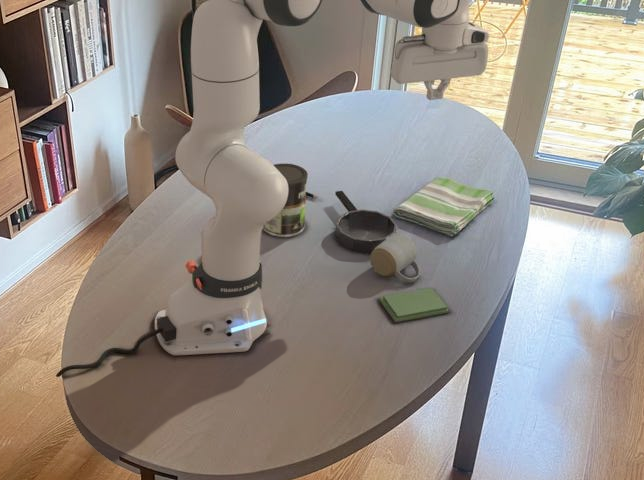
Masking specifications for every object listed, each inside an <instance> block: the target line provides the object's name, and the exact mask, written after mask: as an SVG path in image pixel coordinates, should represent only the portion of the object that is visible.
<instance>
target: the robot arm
mask: <svg viewBox="0 0 644 480" xmlns="http://www.w3.org/2000/svg"><path fill="white" fill-rule="evenodd" d="M360 2H361V4H362V5H363V7H364V8H365V9H366V10H367V11H368V12H370V13H373V14H376V15H380V16H385V17H388V18H391V19H393V20H396V21H400V22H402V23H405V24H408V25H411V26H414V27H417V28H421V34H415V35H414V34H413V35H405V36H402V38H401V39H399V40H398V41H397V42H396V43H395V45H394V55H393V60H392V63H391V64H392V65H391V68H390V77H391V78H392V79H393V80H394V81H395V83H397V84H399V85H404V84H405V85H406V84H413V83H423V85H424V86H425V89H426V99H427V100H428V101H433V100H442V99H443V98H444V93H445V91H446V89H447V88H448V87H449V85H450V84H451V79H457V78H467V77H475V76H482V75H483V74H484V73H485V71H486V69H487V64H488V59H489V46H488V43H487V42H488V41H489V39H490V32H488V31H487V30H486V29H485V28H483V27H481V25H478V24H476V23H474V22H472V21H470V5H471V2H472V0H360ZM322 3H323V0H206V1H204V2H202V4H200V5H199V6H198V8H196V10H195V12H194V14H193V18H192V19H193V20H192V26H191V37H190V68H191V69H190V71H191V85H192V86H191V87H192V104H193V113H192V114H193V115H192V122H191V126H190V130H189V131H188V132H187V133H186V134H184V136H183V137H182V138H181V139H180V141H179V142H178V144H177V147H176V149H175V154H174V155H175V157H174V158H175V164H176V167H177V168H178V170H179V172H180V173H181V174H182V175H183V177H184V178H185V179H186V180H187V182H188V183H189V184H190V185H191V186H192V187H194V188H195V189H197V190H198V191H199V192H201V193H202V194H204V195H205V196H207V197H208V198H210V199H211V200H212V202H213V204H214V207H215V216H213V217H212V218H210V219H209V220H208V221H207V222H206V223H205V224H204V225H203V227H202V229H201V231H200V238H201V241H200V242H201V261H200V263H199V265H198V266H197V262H196V261H195V260H192V259H191V260H188V261H186V263H185V269H187V272H188V273H189V274H191V279H190V280H189V281H188V282H186V283H185V284H183V285H182V286H181V287H180V288H179V287H178V289H177V290H175V291H173V292H172V293H171V294H170V295H169V296H168V298H167V301H166V303H165V304H166V305H165V308H164V309H162V310H159V311H158V312H157V314H156V315H155V318H154V330H153V331H151V332H149V333H147V334H145V335H143V336H142V337H141V338H139V339H138V340H137V342H136V343H135V345H134V346H133V348H130V349H126V348H120V347H112V348H109V349H107V350H104V352H102V354H101V355H100V357H99V359H98V360H97V361H95V362H92V363H87V364H73V365H68V366H65V367H63V368H61V369H60V370H59V371H58V372H57V373H56V375H55V378H60V377H62V376H63V375H64V374H65V373H66V372H69V371H72V370H85V369H86V370H87V369H92V368H95V367H97V366H99V365H101V364H102V363H103V361H104V360H105V359H106V357H107V356H108V355H109V354H111V353H120V354H121V353H122V354H124V355H125V354H127V355H130V354H134V353H136V352H137V351H138V350H139V348H140V347H141V345H142V344H143V343H144V342H145V341H146V340H149V339H150V338H153V337H154V336H156V339H157V342H158V343H159V345H160V346H161V348H162V349H163V350H164V351H165V352H167V353H168V354H170V355H172V356H190V355H191V356H192V355H208V354H209V355H211V354H228V353H245V352H247V351H249V350H250V348H252V345H253V342H254V341H255V340H257V339H258V338H260V337H261V336H262V335H263V334H264V332H265V331H266V329H267V325H268V319H267V317H266V314H265V310H264V306H263V302H262V293H261V289H262V287H263V286H262V284H263V265H262V263H261V241H262V233H263V226H264V224H265V223H266V222H268V221H270V220H272V219H274V218H275V217H276V216H277V215H278V214H279V213H280V212H281V211H282V209H283V208H284V206H285V204H286V201H287V198H288V191H289V189H288V183H287V181H286V179H285V177H284V176H283V175H282V174H281V173H280V172H279V171H278V170H277V169H276V167H275V166H274V165H275V164H273V163H272V162H271V161H269V160H268V159H266V158H264V157H263V156H261V155H259V154H258V153H257V152H254V151H253V150H251V149H250V148H249V147H248V146H247V145H246V143H245V140H244V135H245V134H244V133H245V128H246V127H248V126H249V125H251V124H252V123H253V122H254V121H255V120H256V119H257V118H258V116H259V113H260V110H261V107H260V106H261V101H260V100H261V99H260V98H261V97H260V95H261V93H260V61H259V60H260V59H259V48H258V35H259V32H260V28H261V26H262V23H263V21H264V20H265V21H268V22H272V23H274V24H276V25H278V26H284V27H300V26H303V25H305V24H307V23H308V22H309V21H311V19H313V17H314V16H315V15H316V14H317V12H318V11H319V9H320V7H321V5H322ZM435 81H440V82H439V84H438V86H437V87H436V88H433V86H434V85H435Z"/></svg>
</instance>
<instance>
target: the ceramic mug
mask: <svg viewBox="0 0 644 480" xmlns="http://www.w3.org/2000/svg"><path fill="white" fill-rule="evenodd" d="M417 256H418V250H417V247H416V244H415V243H414V242H413V240H412V238H410V237H409V236H408V235H406V234H404V233H402V232H396V233H394V234H392V235H391V236H390V237H388V238H387V239H386V240H385V241H383V242H382V243H381V244H380V245H378V246H377V247H376V248H375V249H374V250H373V251H372V253H371V254H370V256H369V258H370V259H369V260H370V265H371V267H372V268H373V271H375V273H376V274H378V275H380V276H382V277H385V278H386V277H387V278H390V277H392V276H395V277H396V278H397V279H398V280H399V281H401V282H403V283H407V284H411V283H414V282H416V281H417V280H418V278H420V275H421V269H420V266H419V265H418V263H417V261H416V260H417ZM409 266H411V267H412V268H413V270H414V271H415V274H416V275H415V276H414V277H407V276H405V275H404V274H402V273H401V272H402V270H405V269H406V268H408V267H409Z"/></svg>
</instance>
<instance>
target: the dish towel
mask: <svg viewBox="0 0 644 480" xmlns="http://www.w3.org/2000/svg"><path fill="white" fill-rule="evenodd" d="M493 193H494V192H493V191H492V190H488V189H480V188H476V187H472V186H467V185H464V184H462V183H460V182H458V181H455V180H453V179H451V178H448V177H442V176H436V177H435V178H433V180H431V181H429V183H427V184H425V185H424V186H423V187H421V188H420V189H419V190H418V191H417V192H415V193H414V194H411V195H410V197H408V198H407V199H405V200H404V202H402V203H401V204H399V205H397V206H396V207H394V208H393V211H392V212H393V213H392V214H393V215H394V216H395V217H396V218H398V219H402V220H404V221H408V222H411V223H414V224H417V225H420V226H422V227H425V228H427V229H430V230H433V231H436V232H438V233H442V234H445V235H447V236H448V237H454V236H455V235H457V234H458V233H459V232H460V231H461V230H462V229H464V228H465V227H466V226H467V225H468V224H469V223H470V222H472V220H473V219H474V218H475V217H477V215H478V214H480V213H481V212H482V211H484V210H485V209H486V208H487V207H488V206H489V205H490V204H491V203H492V202H493V201H494V200H495V196H493Z"/></svg>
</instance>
